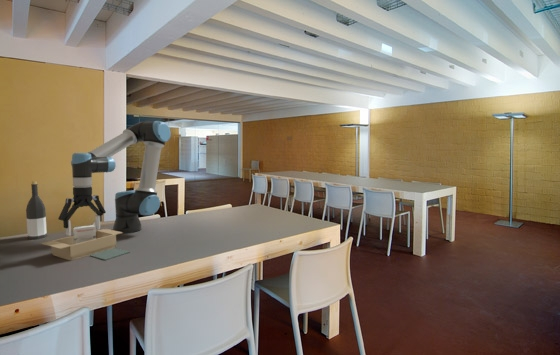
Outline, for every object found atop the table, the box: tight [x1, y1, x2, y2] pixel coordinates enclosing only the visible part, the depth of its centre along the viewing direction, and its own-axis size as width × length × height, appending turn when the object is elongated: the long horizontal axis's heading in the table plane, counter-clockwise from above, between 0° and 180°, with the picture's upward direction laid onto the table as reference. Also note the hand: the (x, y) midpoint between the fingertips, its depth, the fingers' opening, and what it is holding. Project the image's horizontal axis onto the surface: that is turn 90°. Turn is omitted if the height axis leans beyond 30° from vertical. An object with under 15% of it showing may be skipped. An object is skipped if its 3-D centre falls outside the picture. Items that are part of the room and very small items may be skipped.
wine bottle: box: [25, 180, 47, 240], centre depth 169 cm, size 8×8×30 cm
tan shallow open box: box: [41, 228, 124, 261], centre depth 150 cm, size 29×15×6 cm, turn 152°
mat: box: [89, 247, 131, 261], centre depth 146 cm, size 12×11×1 cm
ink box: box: [72, 224, 97, 244], centre depth 149 cm, size 9×5×12 cm, turn 129°
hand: (83, 231), depth 149 cm, fingers open, 13 cm apart
